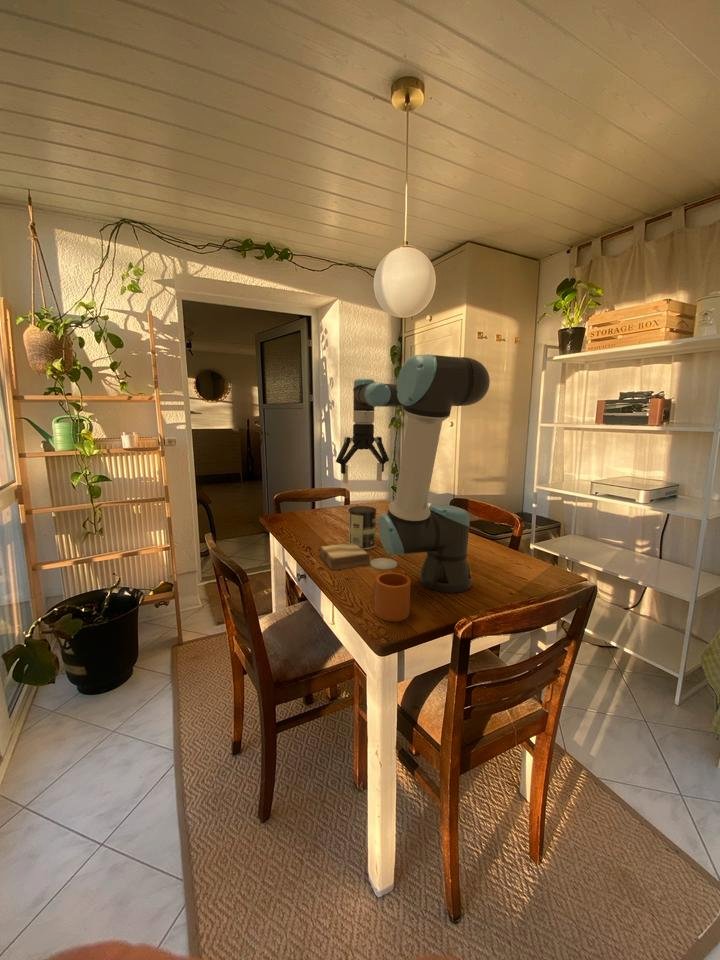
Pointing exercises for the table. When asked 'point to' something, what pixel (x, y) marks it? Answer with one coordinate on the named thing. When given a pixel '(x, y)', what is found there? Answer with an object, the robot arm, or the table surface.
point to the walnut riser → (344, 556)
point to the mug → (392, 596)
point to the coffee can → (362, 526)
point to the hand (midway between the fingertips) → (362, 481)
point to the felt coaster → (383, 563)
